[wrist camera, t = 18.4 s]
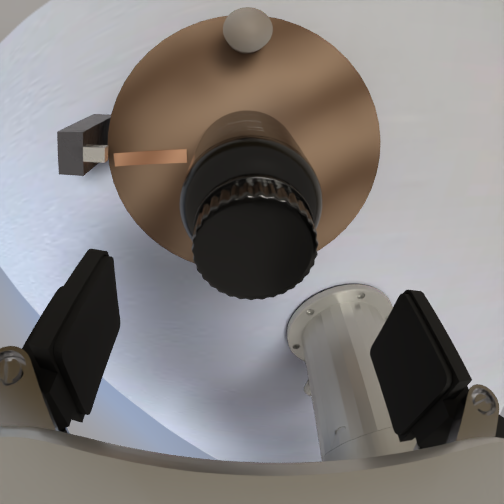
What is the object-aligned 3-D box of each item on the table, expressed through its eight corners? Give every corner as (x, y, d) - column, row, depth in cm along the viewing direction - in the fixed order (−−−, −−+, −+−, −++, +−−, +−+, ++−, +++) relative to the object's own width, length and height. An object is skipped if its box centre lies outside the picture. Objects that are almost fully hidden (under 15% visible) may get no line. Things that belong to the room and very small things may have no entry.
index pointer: (132, 151, 24) (104, 177, 19) (93, 148, 24) (59, 174, 18) (134, 115, 22) (105, 132, 17) (93, 114, 22) (57, 131, 17)
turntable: (409, 173, 25) (444, 203, 20) (229, 293, 31) (227, 339, 26) (265, -29, 16) (273, -56, 11) (72, 143, 22) (34, 168, 17)
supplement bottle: (188, 186, 23) (149, 297, 13) (213, 97, 19) (182, 137, 9) (277, 211, 24) (301, 330, 14) (310, 127, 21) (375, 198, 11)
